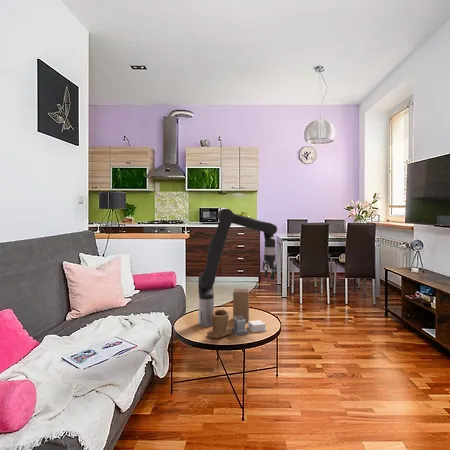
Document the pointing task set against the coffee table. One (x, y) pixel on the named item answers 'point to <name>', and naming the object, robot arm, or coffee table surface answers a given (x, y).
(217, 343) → the coffee table surface
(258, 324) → the stand
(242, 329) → the housing
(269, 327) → the coffee table surface
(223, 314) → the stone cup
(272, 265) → the robot arm
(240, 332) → the stand
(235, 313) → the block
